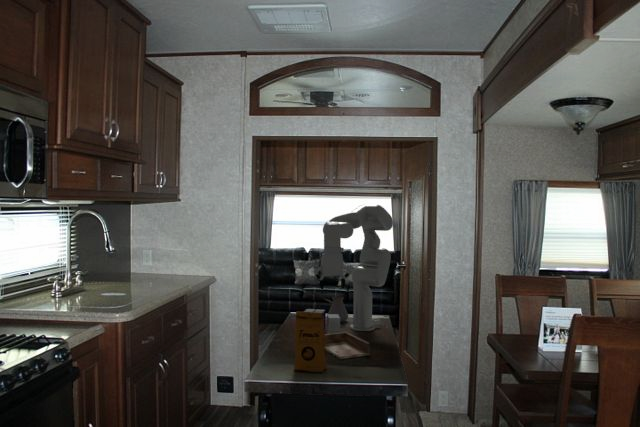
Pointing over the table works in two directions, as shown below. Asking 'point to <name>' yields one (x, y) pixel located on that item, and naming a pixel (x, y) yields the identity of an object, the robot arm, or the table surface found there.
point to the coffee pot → (336, 307)
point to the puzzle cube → (319, 312)
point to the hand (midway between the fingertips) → (332, 288)
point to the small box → (333, 323)
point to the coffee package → (310, 342)
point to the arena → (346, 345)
